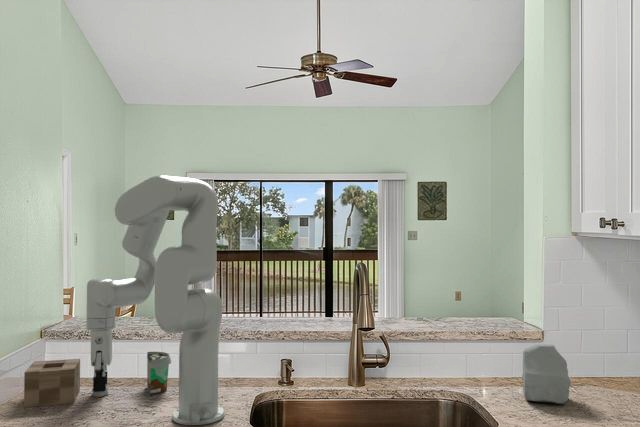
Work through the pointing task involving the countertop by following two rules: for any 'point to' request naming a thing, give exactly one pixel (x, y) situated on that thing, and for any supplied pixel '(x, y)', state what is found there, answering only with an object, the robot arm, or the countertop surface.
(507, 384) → the countertop surface
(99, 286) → the robot arm
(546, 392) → the stone
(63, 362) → the socket block
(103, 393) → the rook chess piece
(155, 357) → the food container
